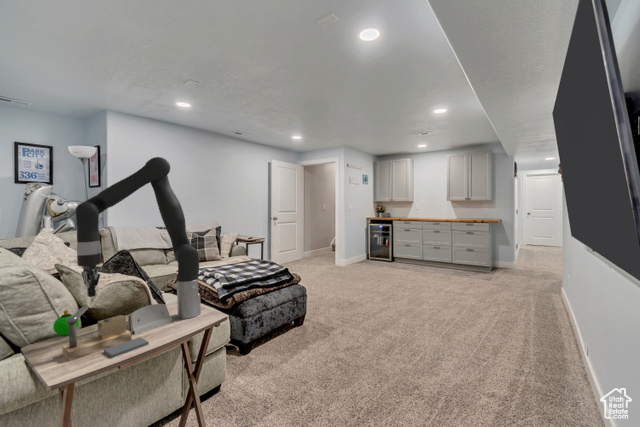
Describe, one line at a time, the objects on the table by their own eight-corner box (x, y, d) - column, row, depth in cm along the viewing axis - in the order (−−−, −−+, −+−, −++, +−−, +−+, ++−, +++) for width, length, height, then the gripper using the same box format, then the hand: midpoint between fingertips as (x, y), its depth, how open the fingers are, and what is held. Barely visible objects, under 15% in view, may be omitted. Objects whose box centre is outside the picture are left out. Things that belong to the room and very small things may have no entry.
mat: (140, 339, 116) (140, 337, 116) (148, 344, 112) (148, 341, 112) (103, 352, 106) (103, 349, 106) (111, 357, 102) (111, 355, 102)
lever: (75, 322, 103) (75, 318, 103) (65, 324, 102) (64, 319, 102) (90, 308, 117) (90, 304, 117) (81, 309, 116) (80, 305, 116)
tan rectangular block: (122, 329, 118) (121, 314, 118) (126, 332, 116) (125, 316, 116) (98, 337, 112) (97, 320, 111) (102, 339, 109) (101, 323, 109)
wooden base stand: (123, 335, 120) (122, 306, 120) (131, 340, 116) (130, 310, 115) (62, 354, 105) (61, 322, 104) (69, 361, 100) (68, 327, 100)
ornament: (82, 333, 122) (81, 309, 122) (57, 340, 116) (56, 315, 115) (75, 329, 127) (74, 306, 127) (50, 336, 120) (49, 311, 120)
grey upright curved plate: (134, 335, 120) (129, 310, 122) (128, 336, 122) (124, 312, 124) (173, 321, 134) (168, 299, 136) (167, 322, 137) (162, 301, 138)
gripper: (106, 252, 116) (109, 296, 117) (94, 250, 124) (96, 291, 124) (83, 255, 110) (85, 301, 110) (71, 253, 118) (74, 296, 118)
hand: (91, 296), depth 117 cm, fingers closed
